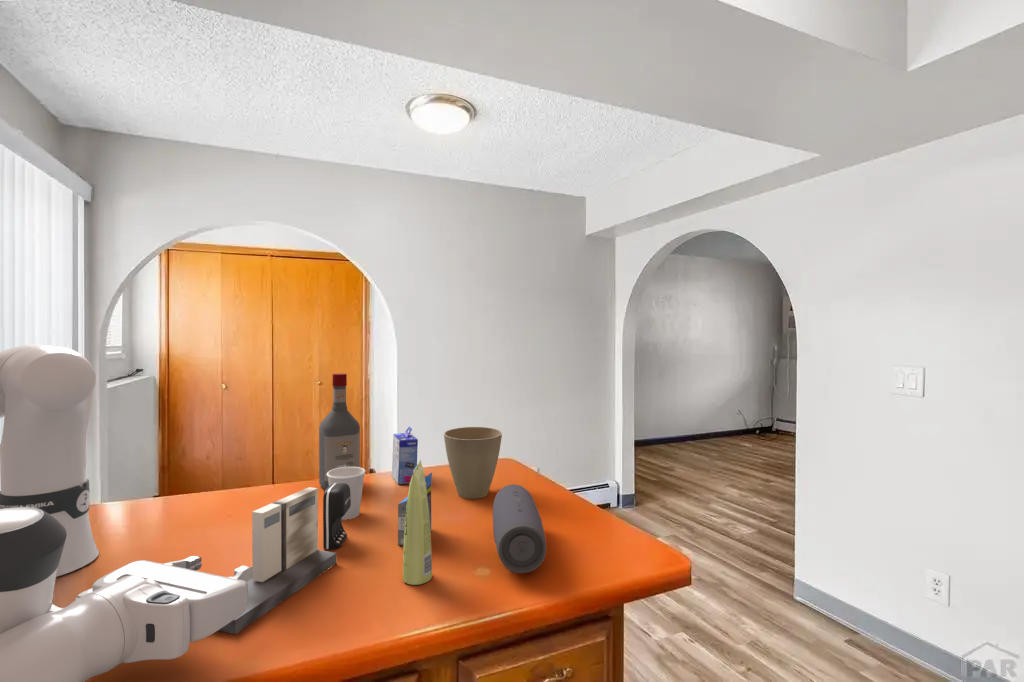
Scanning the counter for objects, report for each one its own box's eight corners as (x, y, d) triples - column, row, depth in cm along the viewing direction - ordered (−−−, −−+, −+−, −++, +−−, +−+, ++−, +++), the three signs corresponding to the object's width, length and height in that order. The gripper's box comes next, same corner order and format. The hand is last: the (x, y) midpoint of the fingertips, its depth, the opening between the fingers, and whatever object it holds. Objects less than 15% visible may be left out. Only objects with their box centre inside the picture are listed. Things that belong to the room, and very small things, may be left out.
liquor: (362, 487, 134) (362, 374, 133) (326, 493, 128) (326, 376, 128) (351, 478, 141) (351, 372, 140) (317, 484, 136) (317, 373, 135)
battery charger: (342, 551, 96) (342, 491, 96) (322, 551, 96) (322, 491, 96) (352, 535, 103) (352, 480, 103) (333, 536, 103) (333, 480, 102)
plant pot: (444, 485, 136) (444, 427, 135) (499, 484, 137) (499, 426, 137) (442, 505, 121) (442, 439, 121) (504, 503, 123) (504, 438, 122)
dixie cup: (370, 517, 113) (370, 473, 113) (332, 525, 108) (332, 479, 108) (358, 506, 120) (358, 464, 120) (322, 513, 115) (322, 469, 115)
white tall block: (262, 582, 80) (262, 513, 79) (252, 580, 80) (251, 511, 80) (281, 570, 83) (281, 504, 83) (271, 568, 84) (271, 503, 84)
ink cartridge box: (418, 483, 138) (418, 430, 137) (398, 485, 136) (398, 432, 135) (410, 473, 147) (410, 424, 146) (391, 475, 145) (391, 425, 144)
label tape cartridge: (414, 528, 107) (415, 470, 107) (432, 529, 107) (432, 471, 106) (397, 545, 99) (397, 483, 98) (415, 547, 98) (416, 484, 98)
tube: (394, 576, 86) (395, 463, 86) (420, 567, 90) (420, 458, 89) (412, 589, 82) (413, 470, 82) (438, 579, 86) (439, 465, 85)
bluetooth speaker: (549, 580, 86) (550, 522, 86) (495, 581, 85) (495, 523, 85) (534, 527, 109) (535, 481, 108) (491, 528, 108) (491, 481, 108)
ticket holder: (235, 634, 70) (234, 539, 70) (181, 620, 73) (180, 529, 73) (336, 563, 91) (336, 490, 90) (291, 555, 94) (290, 484, 94)
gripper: (64, 627, 63) (169, 576, 76) (187, 662, 57) (278, 599, 70) (63, 577, 63) (169, 534, 76) (187, 607, 57) (278, 555, 70)
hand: (222, 566), depth 73 cm, fingers open, 8 cm apart
